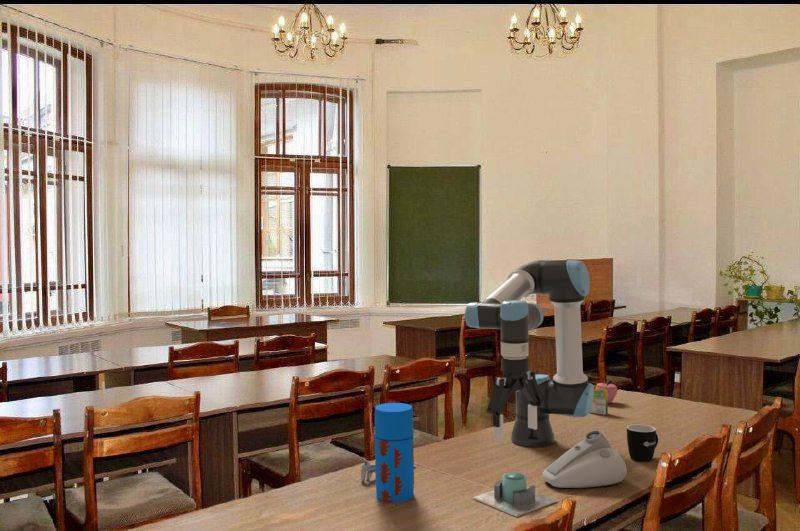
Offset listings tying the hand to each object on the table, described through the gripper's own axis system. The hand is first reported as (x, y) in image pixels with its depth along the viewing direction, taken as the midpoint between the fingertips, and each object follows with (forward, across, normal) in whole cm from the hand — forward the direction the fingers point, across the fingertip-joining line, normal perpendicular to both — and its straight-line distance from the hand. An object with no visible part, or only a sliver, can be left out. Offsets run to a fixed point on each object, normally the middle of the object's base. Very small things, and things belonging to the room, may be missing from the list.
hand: (516, 433), depth 188 cm
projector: (+19, +24, -4) cm, 30 cm away
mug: (+19, +56, -4) cm, 60 cm away
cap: (+17, -3, -1) cm, 17 cm away
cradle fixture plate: (+18, -2, -2) cm, 18 cm away
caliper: (+18, -16, +38) cm, 45 cm away
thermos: (+18, -25, +23) cm, 38 cm away
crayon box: (+20, +94, +41) cm, 104 cm away
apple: (+21, +111, +49) cm, 123 cm away
